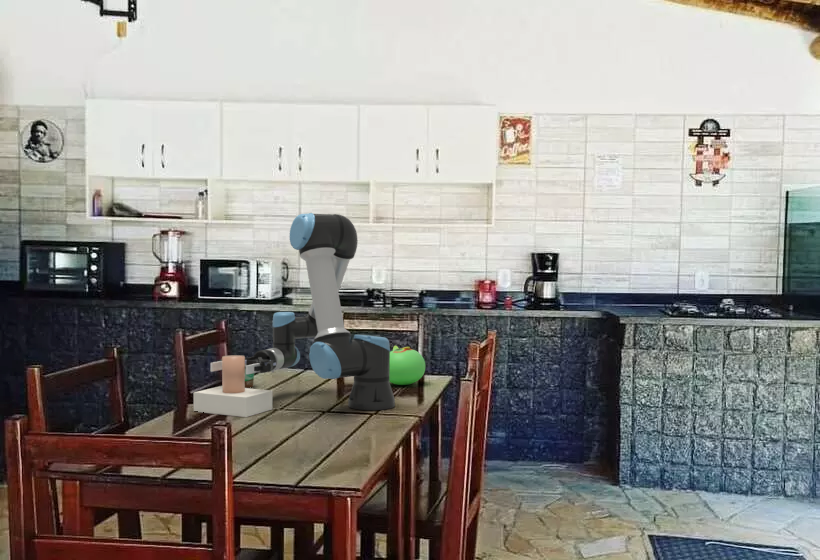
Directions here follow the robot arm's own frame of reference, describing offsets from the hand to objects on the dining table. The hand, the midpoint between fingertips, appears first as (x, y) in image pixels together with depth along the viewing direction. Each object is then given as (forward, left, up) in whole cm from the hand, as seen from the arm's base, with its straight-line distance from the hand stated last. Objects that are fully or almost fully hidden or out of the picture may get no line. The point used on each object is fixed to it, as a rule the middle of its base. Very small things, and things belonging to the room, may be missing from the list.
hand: (228, 368), depth 259 cm
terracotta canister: (0, -2, -7) cm, 8 cm away
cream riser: (0, -2, -13) cm, 14 cm away
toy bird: (-26, -72, -14) cm, 77 cm away
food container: (+22, -40, -14) cm, 47 cm away
